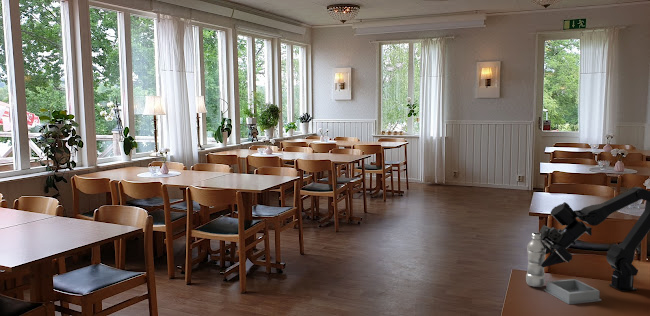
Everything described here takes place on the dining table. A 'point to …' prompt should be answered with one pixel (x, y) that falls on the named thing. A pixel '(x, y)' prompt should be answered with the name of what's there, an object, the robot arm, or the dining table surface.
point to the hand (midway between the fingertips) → (537, 262)
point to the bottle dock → (572, 291)
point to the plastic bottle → (536, 261)
